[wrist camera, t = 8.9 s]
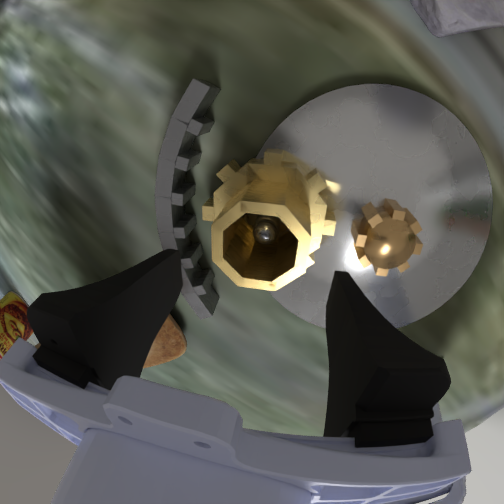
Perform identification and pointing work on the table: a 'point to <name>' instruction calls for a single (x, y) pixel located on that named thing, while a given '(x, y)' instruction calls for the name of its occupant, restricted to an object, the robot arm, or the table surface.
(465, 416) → the table surface
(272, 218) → the carrier
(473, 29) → the stone block
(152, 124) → the table surface
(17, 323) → the canned food
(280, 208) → the planet gear
